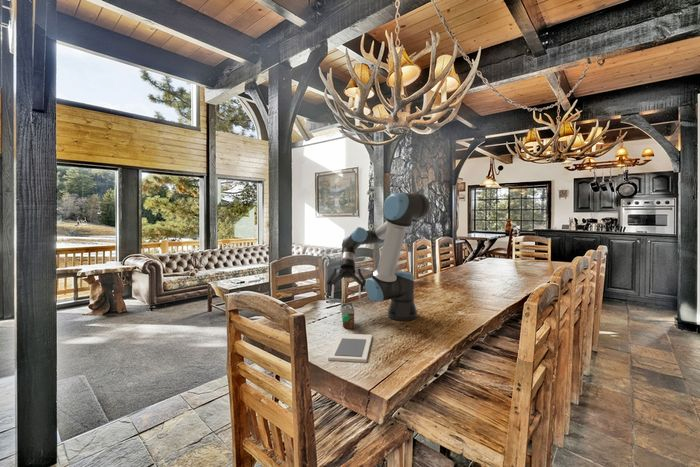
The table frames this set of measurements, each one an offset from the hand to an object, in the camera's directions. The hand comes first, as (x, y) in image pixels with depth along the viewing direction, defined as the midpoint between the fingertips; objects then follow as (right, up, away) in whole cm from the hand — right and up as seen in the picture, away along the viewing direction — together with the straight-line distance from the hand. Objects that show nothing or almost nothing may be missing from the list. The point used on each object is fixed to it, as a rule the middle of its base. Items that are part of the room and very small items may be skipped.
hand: (345, 297), depth 163 cm
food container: (+1, -13, -7) cm, 15 cm away
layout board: (+3, -14, -32) cm, 35 cm away
